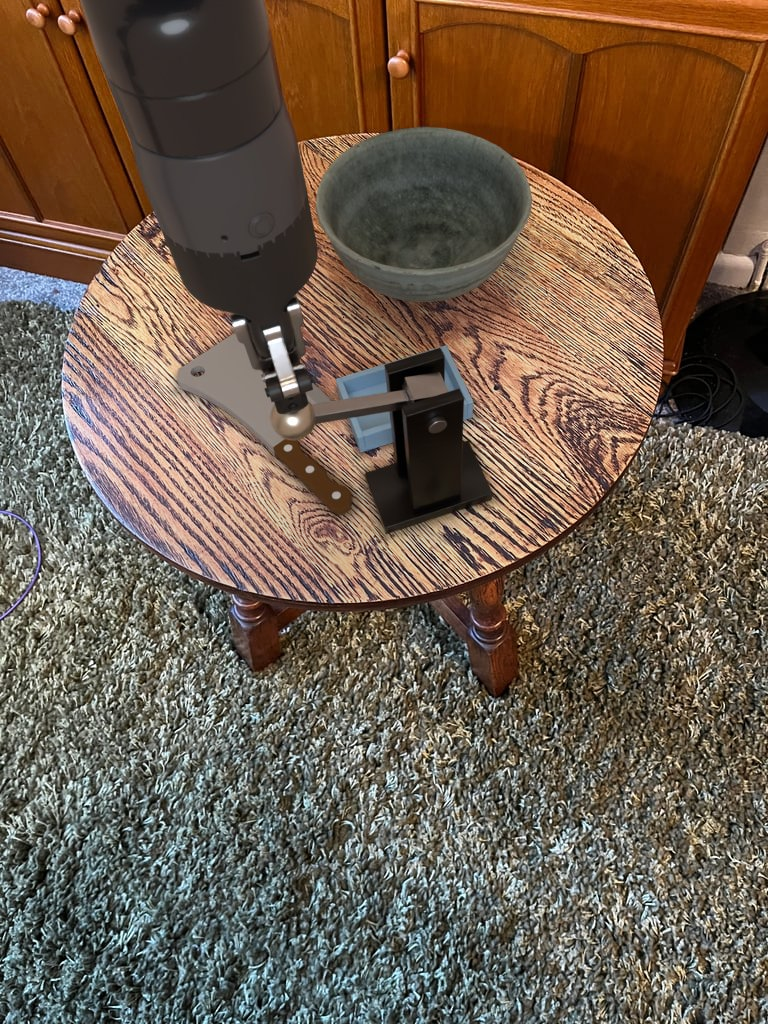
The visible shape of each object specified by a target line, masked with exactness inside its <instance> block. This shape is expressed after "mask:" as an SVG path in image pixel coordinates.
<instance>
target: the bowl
mask: <svg viewBox="0 0 768 1024" xmlns="http://www.w3.org/2000/svg"><path fill="white" fill-rule="evenodd" d="M530 186H531V185H530V182H529V180H528V178H527V176H526V173H525V171H524V169H523V168H522V167H521V166H520V164H519V163H518V161H517V160H516V159H515V158H514V157H513V156H512V155H511V154H509V153H508V152H507V151H506V150H504V149H503V148H502V147H501V146H498V145H497V144H495V143H493V142H491V141H489V140H487V139H484V138H482V137H480V136H477V135H474V134H471V133H468V132H465V131H462V130H455V129H450V128H445V127H435V126H434V127H433V126H432V127H431V126H417V127H409V128H408V127H407V128H400V129H396V130H391V131H390V130H389V131H386V132H381V133H379V134H375V135H373V136H371V137H368V138H365V139H362V140H361V141H359V142H358V143H356V144H354V145H352V146H350V147H348V148H347V149H346V150H344V151H343V152H342V153H341V154H340V155H339V156H338V157H337V158H335V160H334V161H333V162H332V163H330V165H329V167H328V168H327V169H326V171H325V172H324V173H323V175H322V176H321V180H320V182H319V185H318V186H317V187H318V188H317V190H316V199H315V212H316V216H317V221H318V223H319V224H318V225H319V226H320V227H321V229H322V230H323V232H324V234H325V235H326V238H327V240H329V242H330V244H331V247H332V249H333V250H334V252H335V253H336V255H337V256H338V258H339V260H340V261H341V263H342V264H343V265H344V266H345V268H346V269H347V270H348V271H349V273H351V275H353V276H354V277H355V278H356V279H357V280H358V281H359V282H360V283H361V284H363V285H364V286H366V287H368V288H370V289H371V290H372V291H374V292H376V293H378V294H380V295H383V296H386V297H388V298H392V299H394V300H400V301H404V302H411V303H433V302H442V301H443V302H445V301H448V300H450V299H453V298H456V297H459V296H462V295H464V294H466V293H469V292H471V291H473V290H475V289H477V288H479V287H480V286H481V285H482V284H484V283H485V282H486V281H487V280H488V279H490V278H491V277H492V276H493V274H495V272H496V271H497V270H498V269H499V268H500V267H501V266H502V264H503V263H504V262H505V261H506V260H507V257H508V256H509V254H510V253H511V251H512V249H513V247H514V246H515V244H516V242H517V240H518V238H519V235H520V234H521V233H522V232H523V230H524V228H525V227H526V224H527V222H528V220H529V219H530V216H531V212H532V205H533V196H532V191H531V187H530Z"/></svg>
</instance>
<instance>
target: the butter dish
mask: <svg viewBox="0 0 768 1024" xmlns="http://www.w3.org/2000/svg"><path fill="white" fill-rule="evenodd" d="M437 348H441V350H442V352H443V354H444V356H445V385H446V387H447V389H448V391H449V392H450V391H453V390H456V389H460V390H461V393H462V395H463V397H464V418H463V421H466V420H470V419H472V418H474V400H473V398H472V395H471V394H470V391H469V389H468V387H467V385H466V383H465V381H464V379H463V376H462V375H461V373H460V371H459V368H458V366H457V364H456V362H455V360H454V358H453V356H452V354H451V352H450V349H449V348H448V345H442V346H439V347H435V348H431V349H429V350H425V351H421V352H419V353H416V354H412V355H409V356H405V357H403V358H399V359H396V360H393V361H390V362H387V363H383V364H380V365H376V366H373V367H370V368H367V369H363V370H360V371H357V372H353V373H350V374H347V375H344V376H341V377H338V378H335V385H336V388H337V395H338V397H339V400H342V399H349V398H355V397H361V396H367V395H373V394H380V393H386V392H387V385H386V376H385V367H384V365H385V364H388V363H391V362H395V361H398V360H401V359H404V358H408V357H411V356H414V355H418V354H421V353H424V352H427V351H431V350H434V349H437ZM347 421H348V424H349V426H350V430H351V432H352V434H353V437H354V440H355V443H356V446H357V448H358V451H359V453H364V452H368V451H370V450H374V449H377V448H380V447H384V446H387V445H389V444H390V445H391V444H393V439H392V430H391V421H390V412H384V413H378V414H372V415H366V416H360V417H355V418H349V419H347Z"/></svg>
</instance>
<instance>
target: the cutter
mask: <svg viewBox="0 0 768 1024" xmlns="http://www.w3.org/2000/svg"><path fill="white" fill-rule="evenodd" d="M436 348H437V349H435V348H433V349H434V350H432V349H430V350H431V351H429V350H426V351H427V352H425V351H423V352H424V353H422V352H420V353H421V354H419V353H417V354H418V355H415V354H413V355H414V356H412V355H410V356H411V357H409V356H407V357H408V358H406V357H403V358H404V359H402V358H400V359H401V360H399V359H397V360H398V361H396V360H394V361H395V362H393V361H390V362H391V363H389V362H387V363H388V364H386V363H384V364H385V365H384V367H385V376H386V385H387V392H392V391H398V390H402V387H403V382H404V378H405V377H409V376H416V375H422V374H428V373H435V372H440V374H441V376H442V378H443V380H444V382H445V356H444V354H443V352H442V350H441V348H438V347H436ZM463 418H464V397H463V395H462V393H461V390H460V389H456V390H453V391H450V392H446V393H443V394H440V395H437V396H433V397H430V398H427V399H424V400H421V401H417V402H414V403H411V404H408V405H404V406H402V410H396V411H390V421H391V430H392V439H393V443H392V447H393V455H394V456H393V457H394V463H392V464H388V465H386V466H382V467H379V468H376V469H373V470H370V471H367V472H364V478H365V482H366V485H367V487H368V490H369V492H370V493H369V494H370V496H371V498H372V502H373V503H374V507H375V509H376V511H377V514H378V517H379V520H380V522H381V525H382V528H383V531H384V533H385V534H386V535H388V534H391V533H395V532H398V531H400V530H404V529H406V528H410V527H413V526H416V525H419V524H422V523H425V522H428V521H431V520H434V519H438V518H440V517H443V516H447V515H450V514H453V513H456V512H458V511H462V510H464V509H468V508H471V507H475V506H477V505H481V504H483V503H486V502H490V501H492V500H493V495H494V493H493V491H492V488H491V486H490V484H489V482H488V480H487V477H486V475H485V473H484V471H483V469H482V467H481V464H480V462H479V460H478V458H477V455H476V453H475V452H474V449H473V447H472V445H471V443H470V441H469V439H468V440H467V439H466V440H464V420H463Z"/></svg>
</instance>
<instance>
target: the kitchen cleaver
mask: <svg viewBox="0 0 768 1024" xmlns="http://www.w3.org/2000/svg"><path fill="white" fill-rule="evenodd" d="M199 372H202V373H203V374H201V375H199V376H195V375H196V374H197V373H199ZM261 374H263V372H262V371H261V370H255V369H253V368H252V366H251V363H250V360H249V357H248V354H247V352H246V349H245V346H244V344H243V343H240V342H239V341H238V339H237V336H236V334H235V332H234V333H232V334H231V335H229V336H227V337H226V338H224V339H223V340H221V341H219V342H218V343H217V344H215V345H213V346H212V347H210V348H209V349H207V350H205V351H204V352H203V353H201V354H199V355H198V356H197V357H195V358H193V359H192V360H190V361H189V362H188V363H186V364H184V365H183V366H182V367H180V368H178V369H177V384H178V386H179V388H180V389H181V390H183V391H186V392H189V393H190V394H194V395H196V396H198V397H201V398H203V399H204V400H206V401H208V402H209V403H211V404H213V405H214V406H216V407H218V408H220V409H221V410H222V411H225V412H226V413H227V414H228V415H230V416H231V417H232V418H234V419H235V420H236V421H237V422H239V423H240V424H241V425H242V426H244V427H245V428H246V429H247V430H248V431H249V432H250V433H251V434H252V435H254V436H255V437H256V438H257V440H259V441H260V442H261V443H262V444H263V445H264V446H265V447H267V449H269V450H270V451H271V452H272V453H273V454H274V456H275V457H276V458H277V459H278V460H279V461H280V462H281V463H282V464H283V465H284V466H285V467H286V468H287V469H288V470H289V471H290V472H291V473H292V474H293V475H294V476H295V477H296V478H297V479H299V481H300V482H301V483H302V484H303V485H304V486H305V487H306V488H307V489H308V490H309V491H310V492H311V493H312V494H313V495H314V496H315V497H317V499H318V500H319V501H320V502H321V503H322V504H324V506H325V507H326V508H327V509H328V510H329V511H330V512H332V513H333V514H335V515H337V516H343V515H345V514H347V513H348V512H349V511H351V509H352V507H353V493H352V492H351V490H349V489H348V488H347V487H346V486H345V485H342V484H339V483H336V482H335V481H334V480H332V479H331V477H329V475H328V473H327V471H326V470H325V469H324V468H323V467H322V466H321V465H320V463H318V462H317V461H316V460H315V459H313V458H311V457H309V456H308V455H306V454H305V453H304V451H303V450H302V447H301V444H300V442H299V441H298V440H287V439H284V438H282V437H280V436H279V435H278V434H277V433H276V432H275V431H274V429H273V427H272V425H271V421H270V414H271V410H272V407H273V405H274V402H271V399H270V397H267V395H266V392H265V389H264V388H267V387H266V383H265V382H263V380H262V377H261ZM312 387H313V390H311V391H308V392H306V395H307V399H308V401H309V402H310V403H311V404H318V403H324V402H330V401H332V399H331V398H330V397H328V396H327V395H326V394H325V393H324V392H323V390H322V389H320V388H319V387H318V386H317V384H315V382H314V383H312Z"/></svg>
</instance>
